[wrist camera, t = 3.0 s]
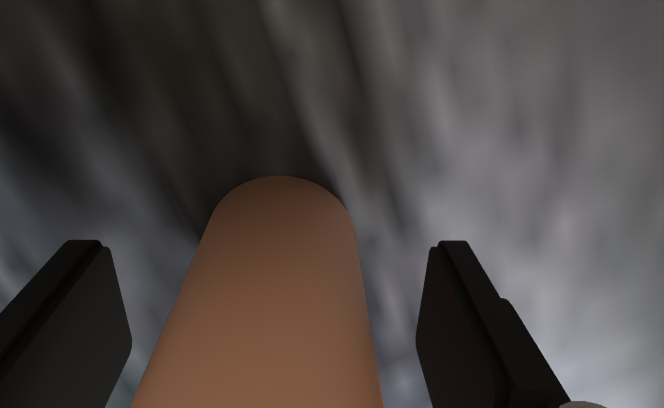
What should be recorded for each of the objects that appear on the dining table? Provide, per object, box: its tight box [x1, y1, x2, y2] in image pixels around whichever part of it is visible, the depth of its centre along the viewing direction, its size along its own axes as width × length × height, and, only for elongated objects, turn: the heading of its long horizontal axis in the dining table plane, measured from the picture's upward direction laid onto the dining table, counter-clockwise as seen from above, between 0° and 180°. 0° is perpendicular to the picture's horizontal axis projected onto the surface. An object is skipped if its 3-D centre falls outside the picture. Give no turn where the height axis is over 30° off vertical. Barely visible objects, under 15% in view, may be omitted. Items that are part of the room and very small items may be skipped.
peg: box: [129, 175, 384, 408], centre depth 7 cm, size 4×4×10 cm
